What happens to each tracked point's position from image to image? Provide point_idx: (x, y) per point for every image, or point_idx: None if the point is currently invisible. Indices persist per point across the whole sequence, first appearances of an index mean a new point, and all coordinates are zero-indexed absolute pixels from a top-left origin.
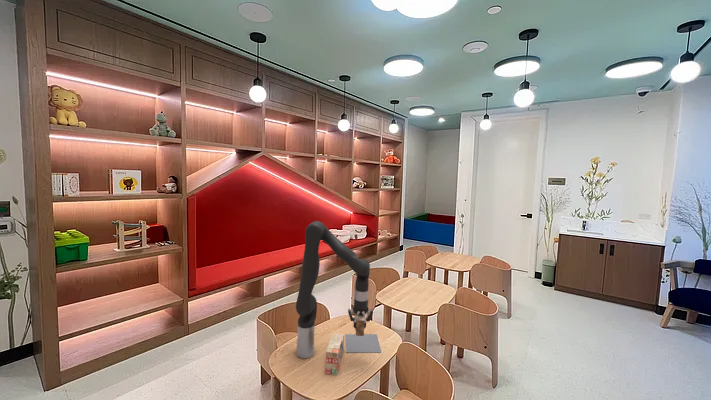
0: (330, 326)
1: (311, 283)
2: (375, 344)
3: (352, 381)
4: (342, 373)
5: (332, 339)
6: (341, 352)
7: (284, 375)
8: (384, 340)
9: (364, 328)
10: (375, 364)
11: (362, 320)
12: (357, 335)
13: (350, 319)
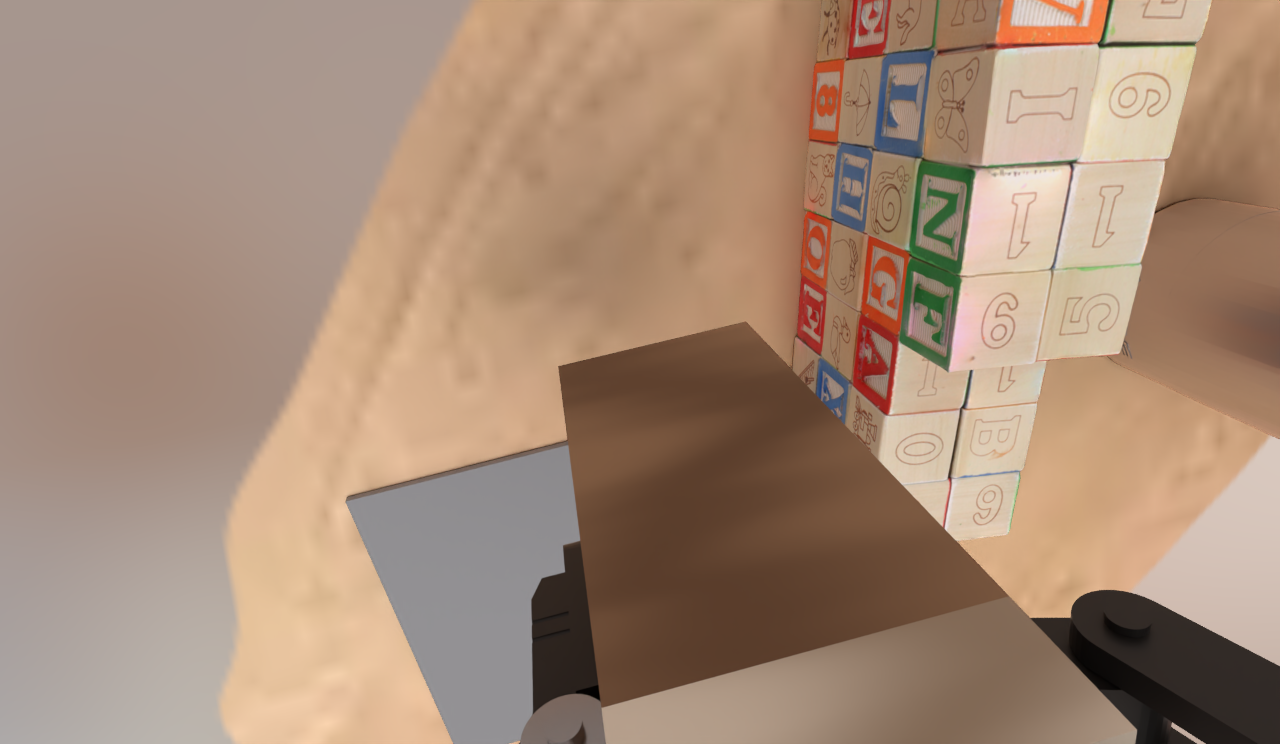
0: None
1: None
2: (443, 604)
3: None
4: (761, 22)
5: (1097, 311)
6: (826, 322)
7: None
8: (356, 695)
9: (569, 546)
10: (377, 278)
11: (716, 675)
12: (716, 333)
13: (1206, 632)
